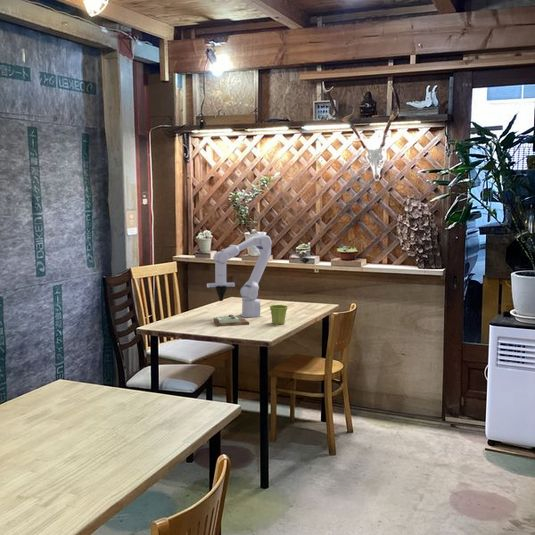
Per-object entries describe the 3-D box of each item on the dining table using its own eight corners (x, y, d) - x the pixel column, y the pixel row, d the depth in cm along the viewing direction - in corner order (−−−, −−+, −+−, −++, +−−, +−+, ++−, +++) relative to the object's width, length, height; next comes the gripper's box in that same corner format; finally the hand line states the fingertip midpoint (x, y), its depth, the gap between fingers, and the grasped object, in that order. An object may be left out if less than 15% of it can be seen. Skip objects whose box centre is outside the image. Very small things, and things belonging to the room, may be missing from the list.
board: (244, 320, 314) (244, 313, 314) (249, 324, 306) (249, 316, 305) (213, 322, 310) (213, 315, 309) (217, 326, 301) (217, 318, 301)
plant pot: (290, 322, 311) (290, 305, 310) (283, 325, 303) (283, 308, 302) (273, 320, 315) (274, 304, 314) (266, 324, 307) (266, 307, 306)
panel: (234, 319, 312) (234, 315, 312) (239, 322, 305) (239, 318, 304) (215, 320, 309) (215, 316, 309) (219, 323, 302) (219, 319, 301)
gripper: (208, 276, 312) (208, 302, 313) (236, 275, 316) (236, 301, 318) (205, 274, 318) (205, 300, 320) (233, 273, 323) (233, 299, 324)
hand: (220, 300), depth 319 cm, fingers closed
